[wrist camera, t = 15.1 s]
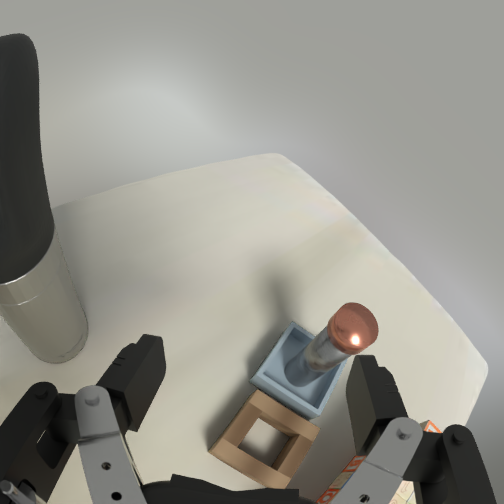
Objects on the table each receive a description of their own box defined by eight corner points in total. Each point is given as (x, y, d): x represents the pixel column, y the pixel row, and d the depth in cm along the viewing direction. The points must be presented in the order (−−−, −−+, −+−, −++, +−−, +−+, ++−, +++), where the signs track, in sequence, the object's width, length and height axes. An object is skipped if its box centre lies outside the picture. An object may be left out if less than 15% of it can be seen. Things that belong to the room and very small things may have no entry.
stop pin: (275, 376, 35) (330, 327, 25) (292, 350, 38) (346, 294, 28) (305, 396, 34) (370, 355, 24) (320, 368, 37) (383, 319, 27)
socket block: (207, 451, 28) (211, 450, 26) (250, 394, 34) (257, 389, 32) (273, 490, 26) (282, 492, 24) (309, 432, 32) (320, 428, 30)
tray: (249, 381, 35) (256, 374, 33) (284, 331, 41) (292, 321, 39) (308, 420, 33) (319, 415, 31) (336, 366, 39) (347, 358, 37)
